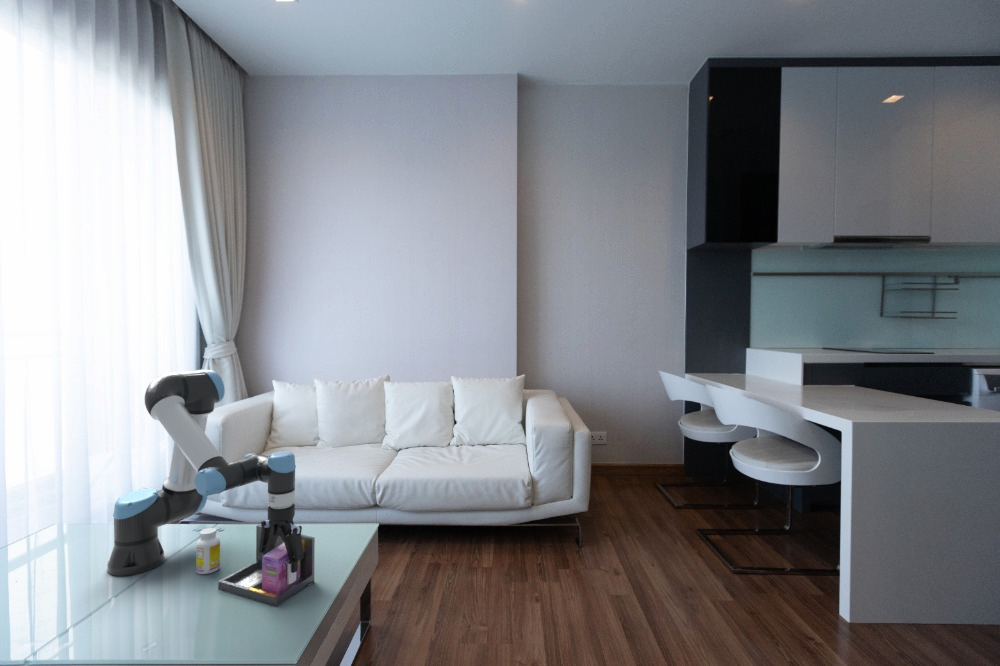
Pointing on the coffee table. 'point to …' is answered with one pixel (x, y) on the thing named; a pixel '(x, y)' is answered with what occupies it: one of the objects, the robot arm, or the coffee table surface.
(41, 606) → the coffee table surface
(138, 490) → the robot arm
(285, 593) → the rack
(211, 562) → the supplement bottle
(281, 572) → the box
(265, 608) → the coffee table surface
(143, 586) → the coffee table surface
